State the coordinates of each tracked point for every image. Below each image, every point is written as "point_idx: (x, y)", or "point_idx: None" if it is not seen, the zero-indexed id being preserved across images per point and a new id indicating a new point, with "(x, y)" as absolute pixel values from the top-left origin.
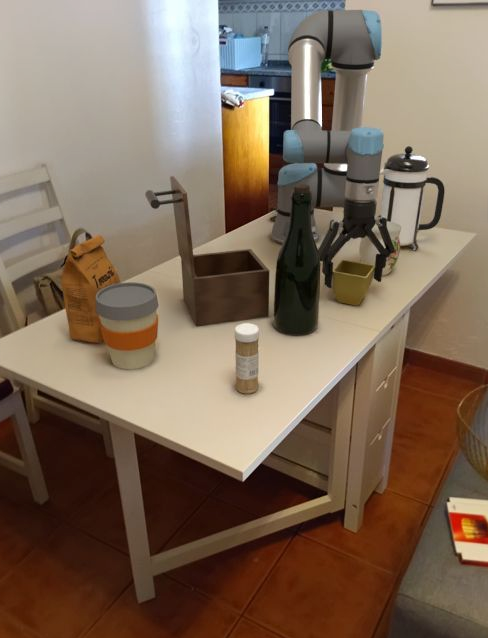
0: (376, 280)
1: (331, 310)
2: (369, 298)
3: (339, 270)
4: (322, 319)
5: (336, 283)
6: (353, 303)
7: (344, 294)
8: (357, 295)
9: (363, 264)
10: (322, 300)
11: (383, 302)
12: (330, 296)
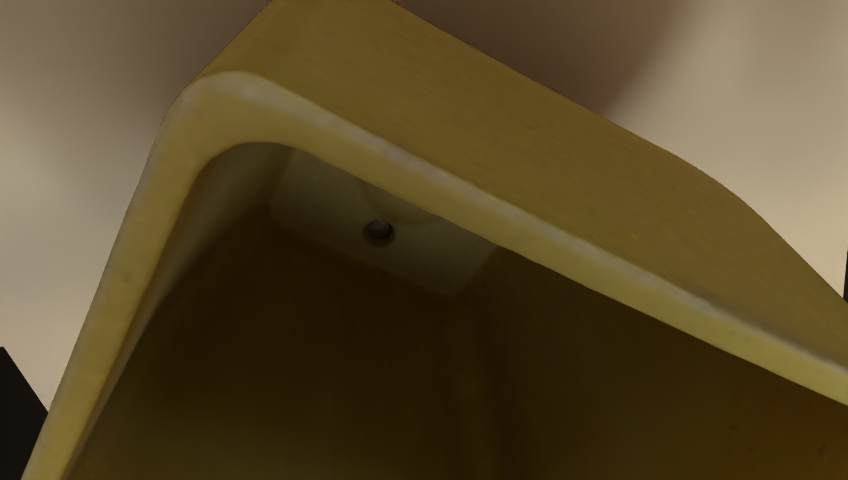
0: (844, 285)
1: None
2: (677, 115)
3: (159, 278)
4: None
5: (137, 460)
6: (416, 310)
7: (293, 372)
8: (436, 452)
9: (742, 353)
10: (66, 130)
11: (790, 224)
12: (171, 20)
